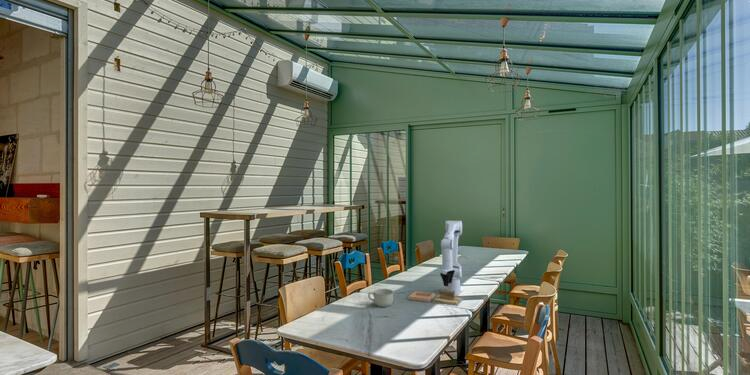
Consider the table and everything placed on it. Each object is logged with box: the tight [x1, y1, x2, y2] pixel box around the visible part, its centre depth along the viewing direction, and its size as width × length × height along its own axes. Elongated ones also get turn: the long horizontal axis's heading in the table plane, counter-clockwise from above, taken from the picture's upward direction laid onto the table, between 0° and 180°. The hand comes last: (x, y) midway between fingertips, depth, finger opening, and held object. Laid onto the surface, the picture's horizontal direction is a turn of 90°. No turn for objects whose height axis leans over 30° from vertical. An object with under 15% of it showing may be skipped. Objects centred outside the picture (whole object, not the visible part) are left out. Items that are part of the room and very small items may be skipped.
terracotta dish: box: [407, 291, 436, 303], centre depth 227 cm, size 12×12×2 cm
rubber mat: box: [432, 298, 464, 307], centre depth 220 cm, size 14×14×1 cm
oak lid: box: [432, 289, 462, 304], centre depth 221 cm, size 13×13×5 cm
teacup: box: [367, 288, 394, 308], centre depth 214 cm, size 14×11×8 cm
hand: (447, 284), depth 221 cm, fingers open, 7 cm apart
